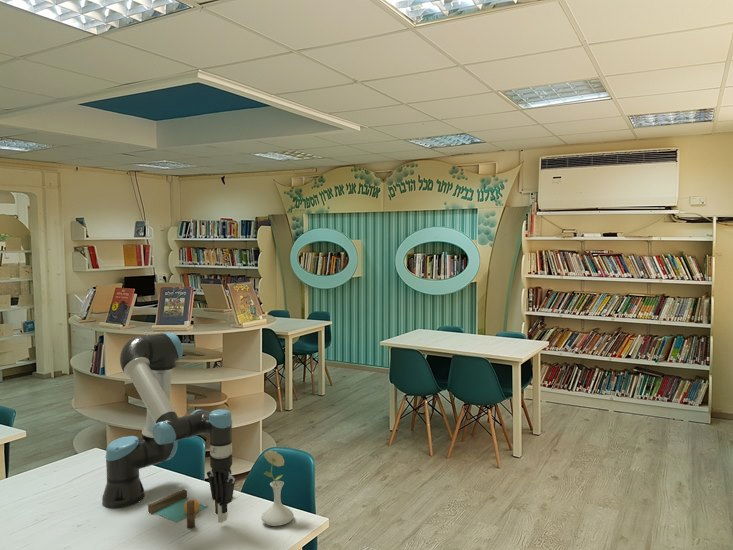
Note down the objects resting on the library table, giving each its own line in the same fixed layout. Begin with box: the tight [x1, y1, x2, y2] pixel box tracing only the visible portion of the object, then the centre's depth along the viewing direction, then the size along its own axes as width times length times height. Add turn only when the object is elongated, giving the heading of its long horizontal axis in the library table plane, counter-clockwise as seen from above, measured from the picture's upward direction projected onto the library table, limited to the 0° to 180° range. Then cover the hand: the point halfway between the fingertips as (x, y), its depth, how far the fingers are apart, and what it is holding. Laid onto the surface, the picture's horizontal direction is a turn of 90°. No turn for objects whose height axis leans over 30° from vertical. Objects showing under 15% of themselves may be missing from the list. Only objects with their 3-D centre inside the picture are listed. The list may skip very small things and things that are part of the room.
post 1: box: [186, 499, 196, 530], centre depth 194 cm, size 3×3×9 cm
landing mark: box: [153, 498, 208, 523], centre depth 207 cm, size 14×14×1 cm
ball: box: [184, 498, 200, 514], centre depth 203 cm, size 6×6×6 cm
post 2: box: [214, 500, 218, 515], centre depth 204 cm, size 3×3×9 cm
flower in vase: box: [261, 449, 294, 527], centre depth 198 cm, size 13×11×25 cm
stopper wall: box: [147, 489, 188, 515], centre depth 211 cm, size 2×16×3 cm, turn 146°
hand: (222, 520), depth 194 cm, fingers closed
